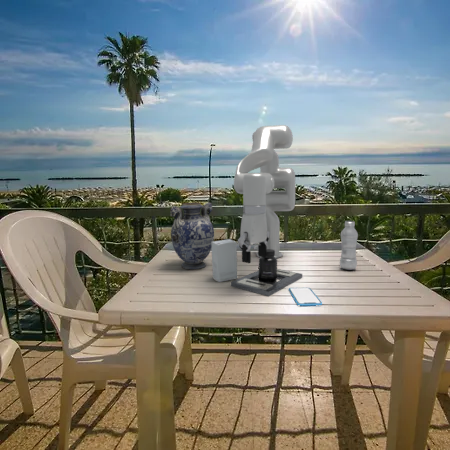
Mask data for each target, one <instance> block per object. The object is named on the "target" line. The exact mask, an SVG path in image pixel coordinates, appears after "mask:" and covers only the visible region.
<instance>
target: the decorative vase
mask: <svg viewBox="0 0 450 450" xmlns="http://www.w3.org/2000/svg"><path fill="white" fill-rule="evenodd" d="M169 211H170V215H169V216H170V217H173V218H174V220H173V224H172V225H171V230H170V237H171V238H170V239H171V244H172V247H173V249H174V252H175V253H176V255H177V256H178V257H179V259H180V260H182V261H183V262H182V264H181V268H182V269H185V270H192V271H193V270H199V269H203V268H205V267H206V266H207V265H206V263H205V262H204V261H205V259H206V258H208V256H209V254H210V252H211V251H212V246H211V242H214V241H215V240H214V239H215V230H214V225H213V224H212V222H211V219H210V215H211V212H213V204H212V203H211V202H206V203H205V204H203V205H202V204H201V202H197V201H196V202H195V201H194V202H183V203H181V205H180V207H179V206H177V205H174V206H171V208H170V209H169Z"/></svg>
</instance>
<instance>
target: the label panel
mask: <svg viewBox="0 0 450 450" xmlns="http://www.w3.org/2000/svg"><path fill="white" fill-rule="evenodd" d="M258 274H259V269H258V270H256V271H254V272H252V273H251V272H250V273H249V274H247V275H244V276H243V277H239V278H237V279H234V280H233V281H230V287H233V288H237V289H240V290H244V291H247V292H250V293H255V294H258V295H263V296H266V297H270V296H271V295H273V294H276V293H277V292H279V291H281V290H283V289H284V288H285V289H286V288H287V287H289V286H290V285H292V284H293V283H295V282H297V281H299V280H301V279H303V273H301V272H294V271H289V270H285V269H280V268H277V282H276V283H274V284H269V283H265V282H261V281H259V280H258Z"/></svg>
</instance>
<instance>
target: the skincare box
mask: <svg viewBox="0 0 450 450" xmlns="http://www.w3.org/2000/svg"><path fill="white" fill-rule="evenodd" d="M237 243H238V241H235V240H233V239H230V238H228V239H223V240H216V241H215V240H214V241H213V242H211V246H212V248H211V265H212V278H213V279H214V280H215V281H216V282H218V283H222V282H226V281H231V280H237V279H238V257H237V255H238V254H237V252H238V251H237V247H238V246H237Z"/></svg>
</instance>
